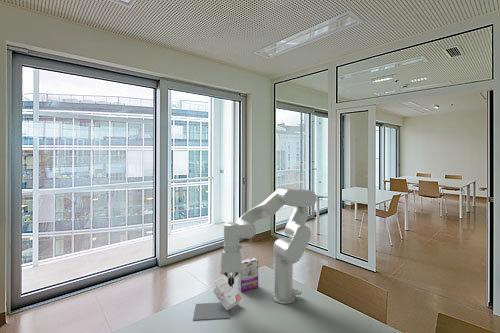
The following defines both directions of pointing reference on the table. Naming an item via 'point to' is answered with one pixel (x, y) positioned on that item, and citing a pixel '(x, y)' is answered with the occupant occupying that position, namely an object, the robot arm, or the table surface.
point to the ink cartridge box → (226, 293)
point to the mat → (210, 311)
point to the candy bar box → (248, 275)
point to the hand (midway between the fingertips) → (231, 285)
